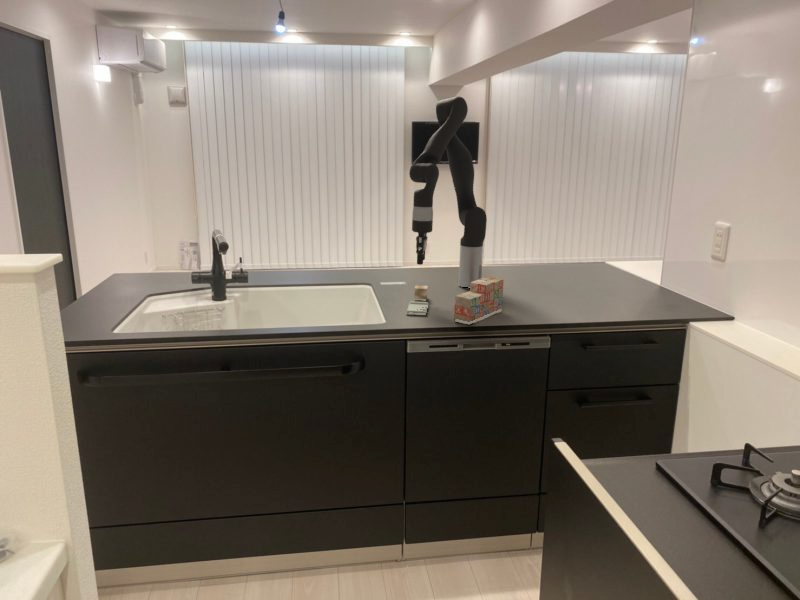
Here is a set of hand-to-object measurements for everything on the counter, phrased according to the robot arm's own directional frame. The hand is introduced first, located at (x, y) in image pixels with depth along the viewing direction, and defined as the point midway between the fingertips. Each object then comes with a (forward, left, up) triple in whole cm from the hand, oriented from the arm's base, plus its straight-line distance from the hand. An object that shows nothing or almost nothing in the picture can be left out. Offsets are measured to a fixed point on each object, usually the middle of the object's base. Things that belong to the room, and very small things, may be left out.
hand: (420, 262), depth 221 cm
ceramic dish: (0, +15, -15) cm, 21 cm away
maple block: (0, 0, -15) cm, 15 cm away
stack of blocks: (-22, +19, -15) cm, 33 cm away
